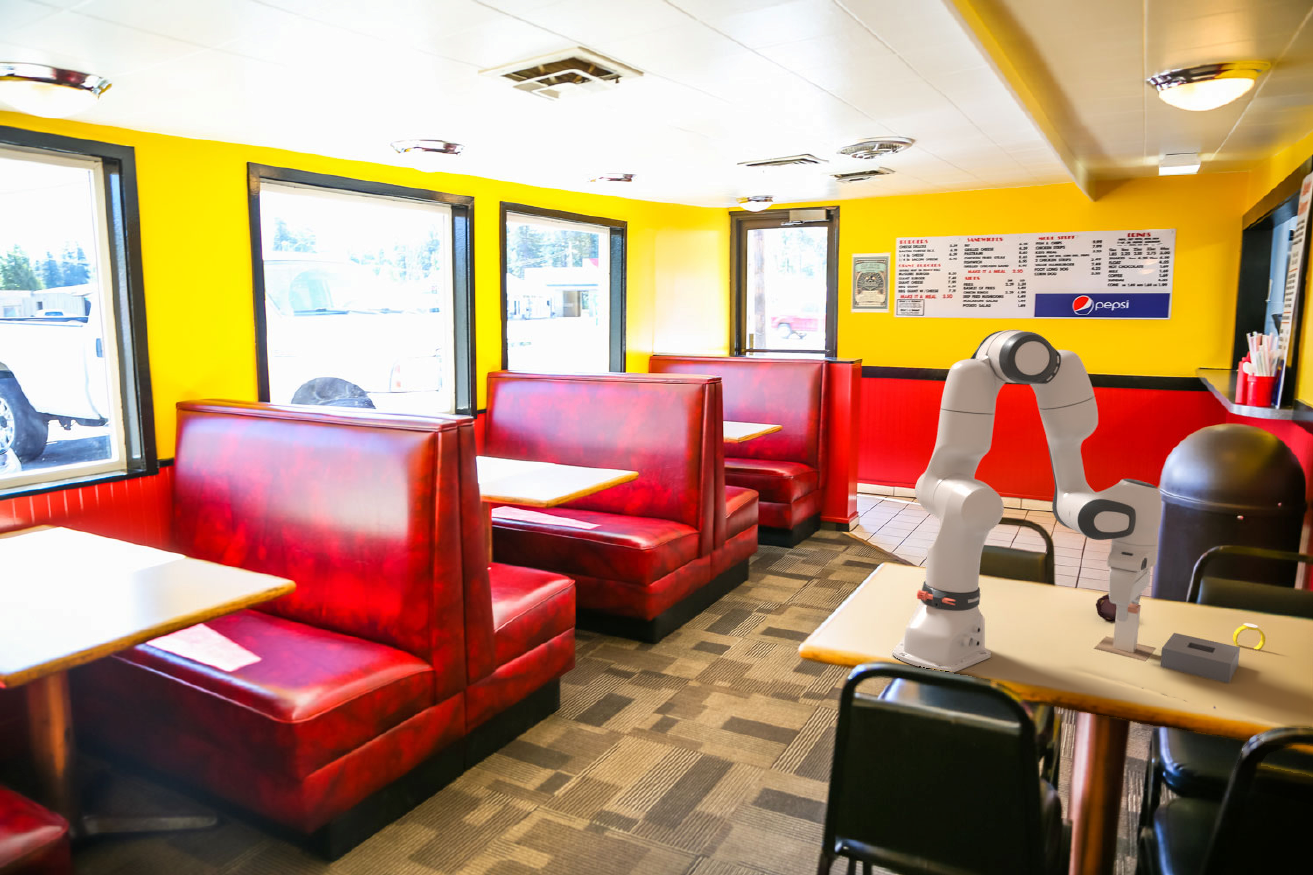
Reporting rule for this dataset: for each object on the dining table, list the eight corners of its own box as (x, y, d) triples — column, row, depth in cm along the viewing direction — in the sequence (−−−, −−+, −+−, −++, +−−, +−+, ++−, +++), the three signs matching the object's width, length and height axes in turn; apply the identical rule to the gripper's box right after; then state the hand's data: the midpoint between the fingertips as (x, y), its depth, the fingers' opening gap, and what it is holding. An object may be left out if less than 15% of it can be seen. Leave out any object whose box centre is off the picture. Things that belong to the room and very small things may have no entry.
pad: (1144, 665, 178) (1145, 660, 178) (1093, 652, 185) (1093, 648, 185) (1155, 652, 186) (1155, 647, 186) (1105, 640, 192) (1106, 636, 192)
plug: (1133, 652, 183) (1137, 608, 181) (1112, 647, 185) (1116, 604, 184) (1136, 648, 185) (1140, 605, 184) (1116, 644, 188) (1120, 600, 186)
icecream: (1137, 607, 196) (1130, 594, 210) (1103, 595, 199) (1098, 583, 213) (1126, 634, 197) (1120, 619, 211) (1093, 621, 200) (1089, 608, 214)
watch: (1258, 650, 189) (1263, 624, 188) (1264, 654, 186) (1270, 629, 185) (1229, 646, 190) (1234, 620, 189) (1235, 650, 187) (1240, 625, 186)
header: (1228, 687, 168) (1230, 663, 167) (1159, 670, 176) (1162, 647, 175) (1237, 669, 177) (1240, 647, 176) (1171, 654, 185) (1174, 632, 184)
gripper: (1129, 542, 192) (1123, 600, 194) (1105, 560, 177) (1099, 623, 179) (1160, 547, 188) (1154, 606, 190) (1138, 566, 173) (1132, 630, 175)
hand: (1127, 614), depth 184 cm, fingers open, 8 cm apart
